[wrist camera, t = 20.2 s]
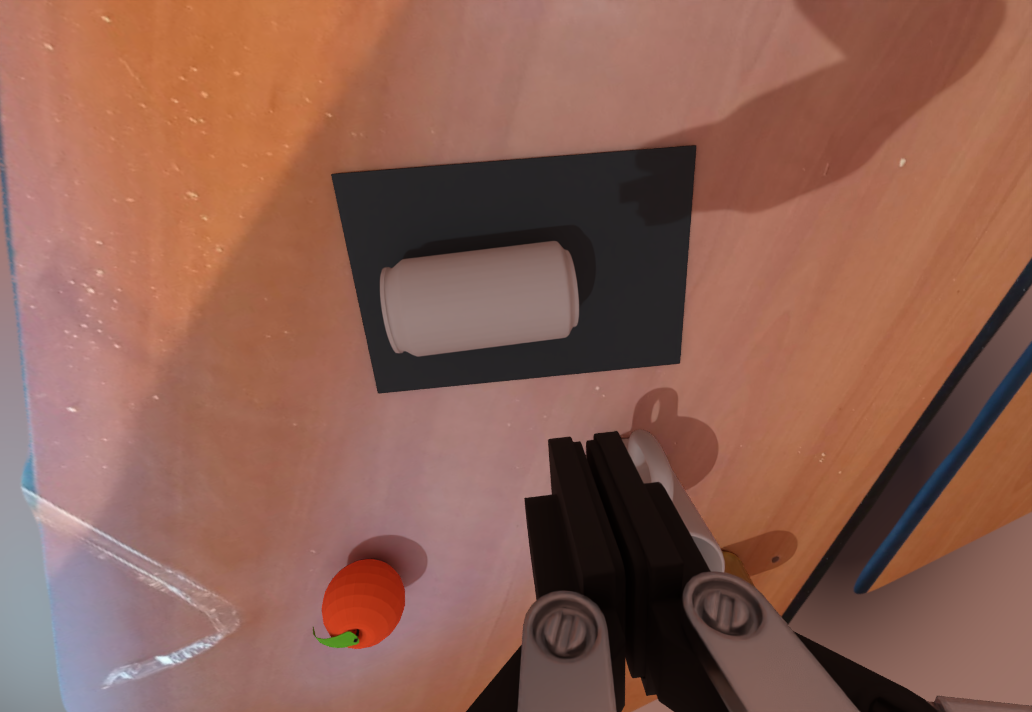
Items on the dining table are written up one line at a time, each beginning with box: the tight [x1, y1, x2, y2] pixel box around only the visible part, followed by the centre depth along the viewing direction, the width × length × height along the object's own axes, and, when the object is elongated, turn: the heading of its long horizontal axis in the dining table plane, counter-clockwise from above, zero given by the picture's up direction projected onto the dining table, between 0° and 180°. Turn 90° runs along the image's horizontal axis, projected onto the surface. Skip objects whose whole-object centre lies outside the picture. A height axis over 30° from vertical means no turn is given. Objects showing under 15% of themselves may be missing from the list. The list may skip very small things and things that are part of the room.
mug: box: [586, 430, 725, 572], centre depth 37 cm, size 12×8×11 cm
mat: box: [331, 145, 696, 393], centre depth 34 cm, size 24×16×1 cm, turn 94°
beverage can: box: [380, 241, 579, 357], centre depth 31 cm, size 6×6×12 cm
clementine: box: [313, 559, 405, 649], centre depth 41 cm, size 8×7×7 cm
